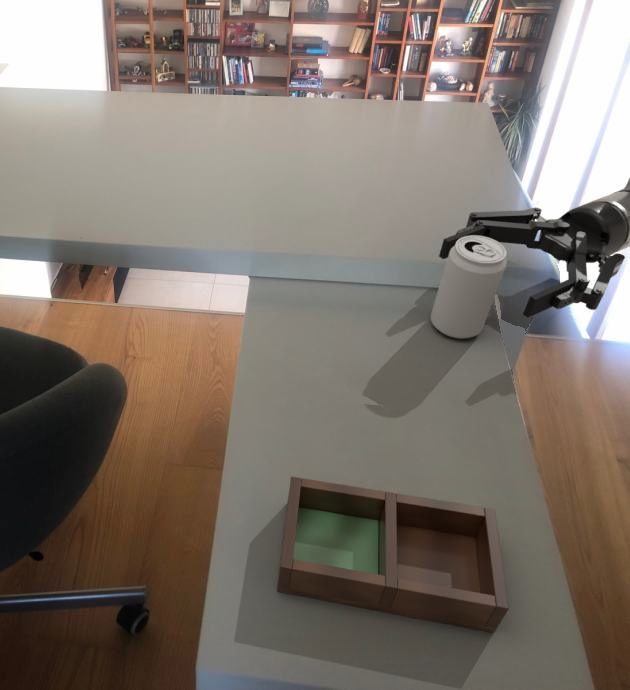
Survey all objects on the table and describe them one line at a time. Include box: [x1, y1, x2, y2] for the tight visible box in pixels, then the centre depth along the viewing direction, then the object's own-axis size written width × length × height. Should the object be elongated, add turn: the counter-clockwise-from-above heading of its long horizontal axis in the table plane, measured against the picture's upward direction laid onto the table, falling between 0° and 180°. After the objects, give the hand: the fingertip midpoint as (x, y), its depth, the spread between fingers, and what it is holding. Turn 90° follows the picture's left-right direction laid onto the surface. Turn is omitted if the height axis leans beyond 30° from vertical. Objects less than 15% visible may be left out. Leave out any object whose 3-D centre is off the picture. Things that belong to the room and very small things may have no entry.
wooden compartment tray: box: [276, 476, 510, 634], centre depth 63 cm, size 19×10×4 cm, turn 77°
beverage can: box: [430, 235, 508, 339], centre depth 85 cm, size 6×6×12 cm
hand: (483, 276), depth 85 cm, fingers open, 13 cm apart
